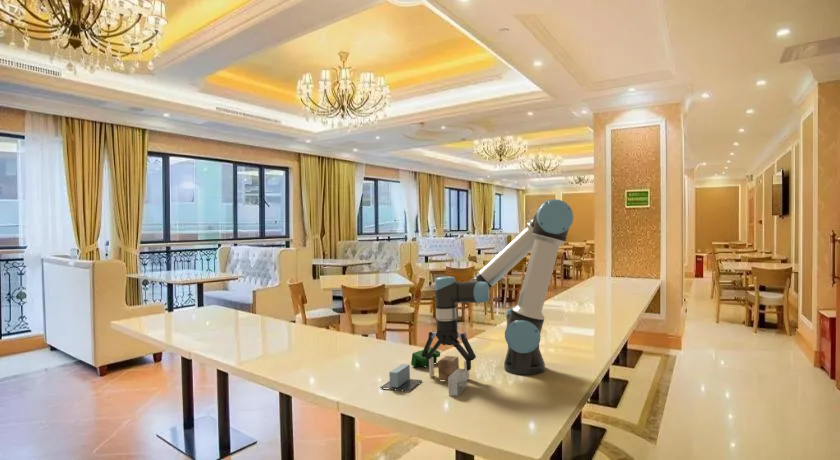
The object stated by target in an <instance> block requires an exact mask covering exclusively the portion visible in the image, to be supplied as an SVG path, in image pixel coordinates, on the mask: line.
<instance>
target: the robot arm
mask: <svg viewBox="0 0 840 460" xmlns="http://www.w3.org/2000/svg"><path fill="white" fill-rule="evenodd" d="M573 221H574V212H573V209H572V208H571V206H570V205H569V204H568V203H567V202H565V201H563V200H561V199H556V198H553V199H552V198H551V199H548V200H545V201H544V202H543V203H542V204H541V205H539V206H538V209H537V211H536V212H535V214H534V215H533V217H532V218H531V219H530V220H529V221H528V222H527V223H526V227H525V228H524V229H523V230H522V231H521V232H520V233H519V234H518V235H516V236H515V238H514V239H513V240H511V242H510V243H508V244H507V245H506V246H505V247H504V248H503V249H502V250H501V251H500V252H498V254H496V255H495V257H494V258H492V259H491V260H490V261H489V262H488V263H486V265H485V266H484V267H483V268H482V269H480V270H479V271H478V272H477V273H476V274H475V276H473V277H471V279H469V281H462V282H460V281H457V280H456V277H454V276H448V275H447V276H438V277H436V278H435V282H434V295H435V296H434V297H435V317H436V319H437V320H436V332H435V331H434V330H432V331H429V333H428V339H427V341H426V342H425V345H424V348H423V349H422V350H423V352H422V357H426V359H427V367H428V372H429V378H432V377H433V376H435V365H434V360H433V357H431V356H432V355H433V353H434V352H435V351H436V350H437V351H438V349H439V347H440V346H441V345H442V346H446V345H447V346H453V347H454V348H455V349H456V350H457V351H458V352H459V353H460V355H461V356H462V357H463V358H464V360H465V361H464V360H463V369H466V374H467V381H468V380H469V379H470V371H471V369H472V361H474V360H475V359H476V358H477V356H476V353H475V352H474V350H473V348H472V346H471V344H470V342H469V340H468V337H467V333H466V332H462V333H459V332H458V319H457V317H458V316H457V315H458V314H457V312H458V311H457V304H461V303H462V304H463V303H464V304H466V303H467V304H468V303H469V304H470V303H471V304H472V303H473V304H480V303H481V304H482V303H487V302H489V300H490V289H491V288H492V287H493V286H494V285H496V284H497V282H499V281H500V280H501V279H502V278H503V277H504V276H506V274H508V273H509V272H510V271H511V270H512V269H513V268H514V267H515V266H517V264H519V262H520V261H522V260H523V259H524V258H525V257H526V256H528V254H529V253H530V256H529V260H528V263H527V268H526V271H525V275H524V278H523V282H522V287H521V289H520V294H519V297H518V301H517V303H516V305H514V306H513V307H511V308H508V309H507V310H506V314H505V317H506V328H505V330H504V338H505V341H506V343H507V352H506V354H505V358H504V361H503V362H504V363H503V365H504V366H503V367H504V368H503V369H504V370H505V371H506V372H508V373H510V374H515V375H525V376H528V375H538V374H541V373H543V372H545V370H546V366H545V365H546V364H545V361H544V358H543V356H542V353H541V350H540V342H541V337H542V336H541V333H542V329H543V326H544V323H545V315H543V313H542V311H543V308H544V304H545V300H546V297H547V294H548V291H549V286H550V282H551V279H552V275H553V271H554V267H555V264H556V260H557V256H558V253H559V251H560V250H559V249H560V246H562V245H564V244H565V243H566V242H567V237H568V234H569V231H570V230H569V229H570V228H571V226H572V224H573ZM434 338H437V342H436V343H435V344H434V346H433V347H432V349H431V351H430V352H429V353H428V350H429V348H430V347H431V345H432V343H433V341H434ZM458 338H459V339H460V340H461V343H462V344H461V343H460V341H459V340H458ZM462 345H463V346H464V347H463V346H462Z"/></svg>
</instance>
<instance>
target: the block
mask: <svg viewBox="0 0 840 460" xmlns="http://www.w3.org/2000/svg"><path fill="white" fill-rule="evenodd" d="M437 366H438V367H437V368H438V369H437V370H438V381H439V380H445V381H448V377H449V376H450V375H451V374H452V373H453V372H454V371H456V370H457V369H458V368H460V367H459V366H460V365H459V356H451V355H445V356H444V357H442V358H441V359H439V361H438V360H437Z"/></svg>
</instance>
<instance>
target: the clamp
mask: <svg viewBox="0 0 840 460" xmlns="http://www.w3.org/2000/svg"><path fill="white" fill-rule="evenodd" d="M432 348H433V347H431V346H430V348H429V350H428V353H429V352H430V351H431V349H432ZM423 350H424V349H420V350H418V351H415V352H413V353H412V356H411V362H410V363H411V366H413V367H414V368H417V367H416V366H419V365H422V366H421V367H423V366H426V367H427V359H426V357H422V352H423ZM431 357H433V360H434V363H436V364H437V361H438V360H437V358H440V357H441V351H439V350H438V349H437V350H436V351H435V352H434V353H433V355H432V356H431ZM419 367H420V366H419Z"/></svg>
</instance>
